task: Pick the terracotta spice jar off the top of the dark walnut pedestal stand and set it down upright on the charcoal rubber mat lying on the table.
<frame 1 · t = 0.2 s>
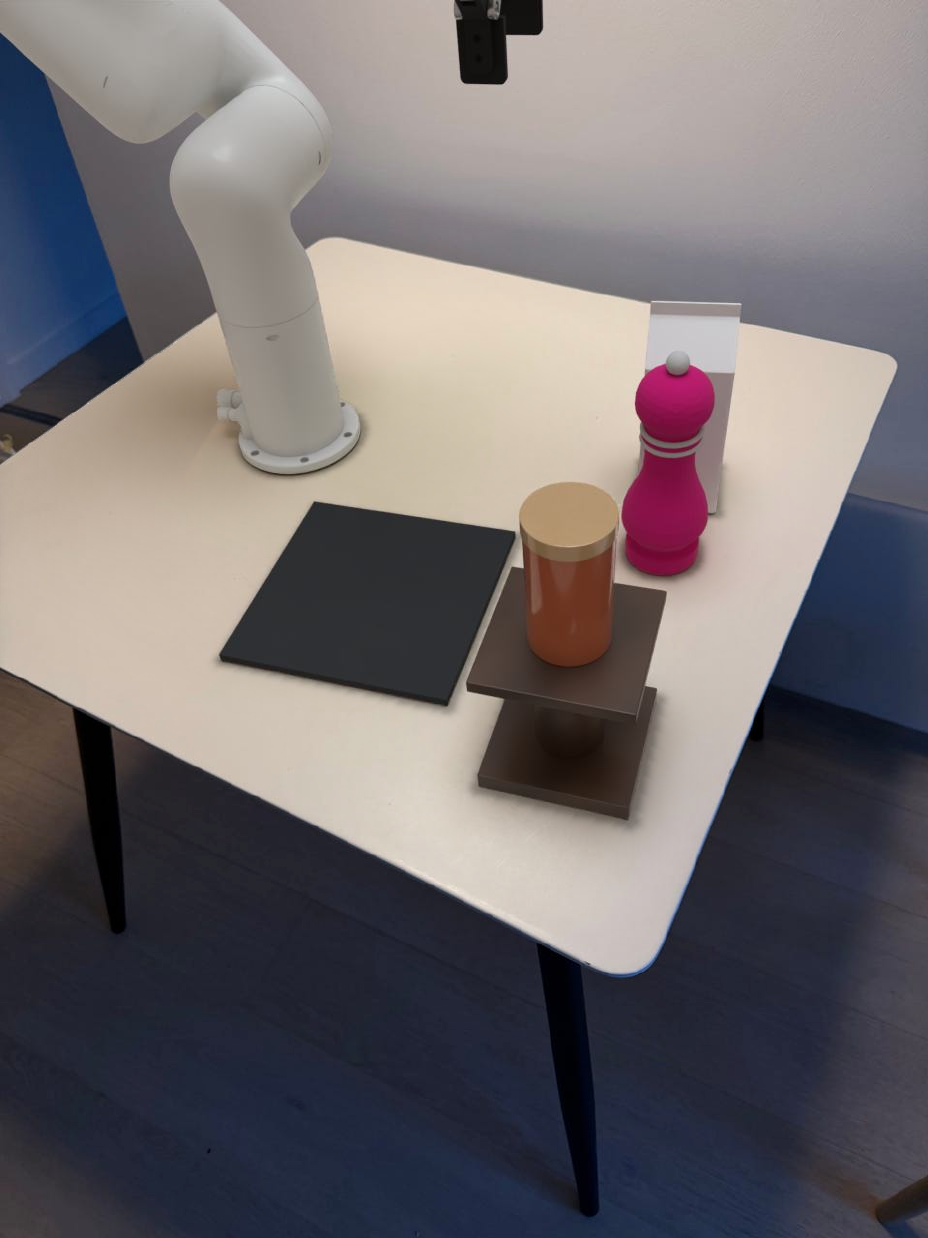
hand: (503, 56, 70), 37 cm above the table, tool pointing down, fingers open, 9 cm apart
pepper mill: (660, 553, 87), on the table
mat: (374, 596, 86), on the table
milk carton: (677, 489, 93), on the table
stand: (569, 742, 74), on the table
spice jar: (569, 634, 65), point 12 cm above the table, touching stand
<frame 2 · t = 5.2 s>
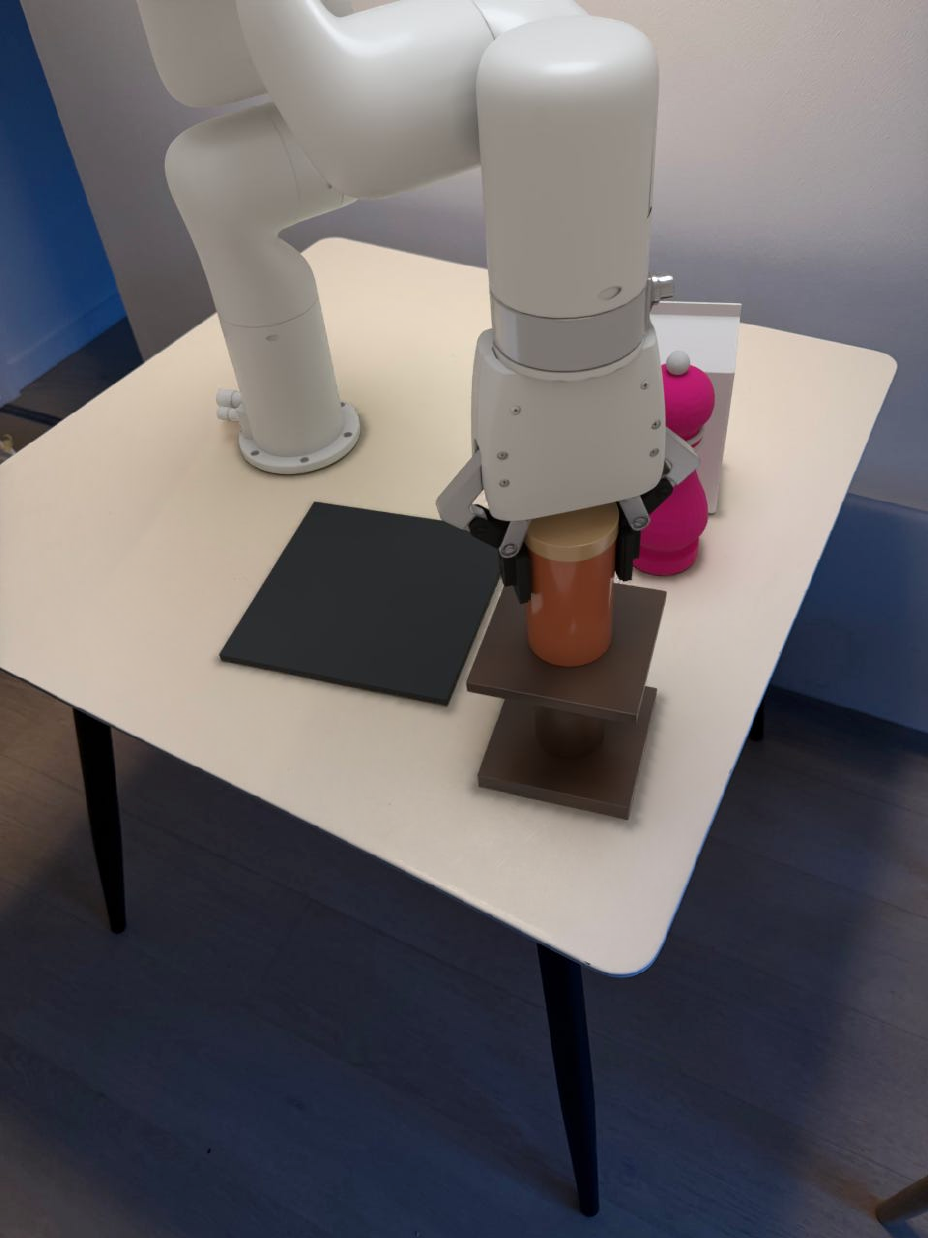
hand: (569, 575, 61), 18 cm above the table, tool pointing down, fingers closed on spice jar, 5 cm apart
spice jar: (569, 634, 65), point 12 cm above the table, touching gripper, stand
everything else where it was.
when the fingers open (6 cm above the table, at t = 15.8 s): spice jar stays where it is, resting on mat.
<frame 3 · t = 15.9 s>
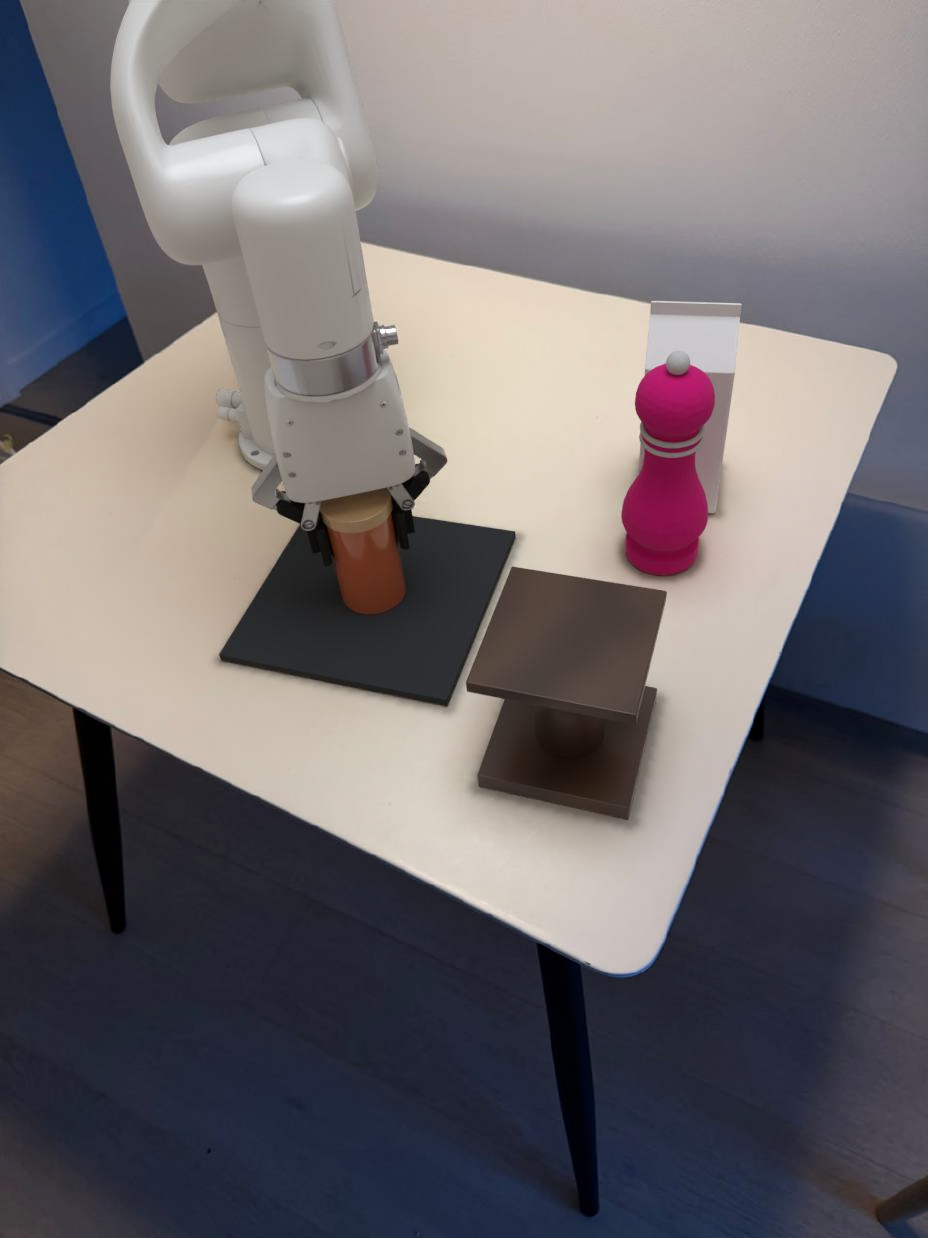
hand: (364, 545, 82), 6 cm above the table, tool pointing down, fingers open, 5 cm apart
spice jar: (374, 591, 86), point 1 cm above the table, touching mat
everything else where it was.
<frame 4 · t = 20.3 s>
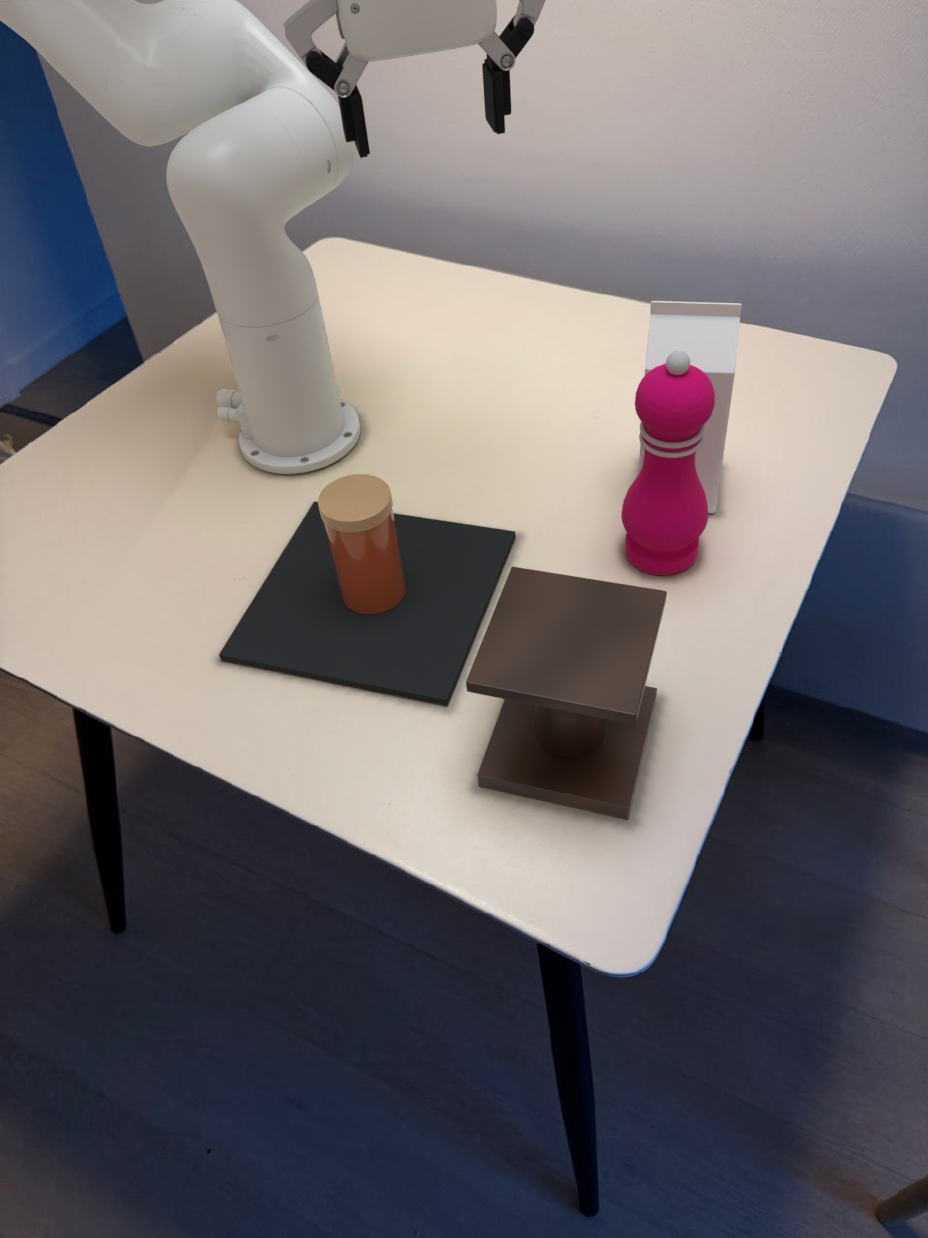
hand: (429, 138, 70), 33 cm above the table, tool pointing down, fingers open, 9 cm apart
nothing on the table moved.
at the end: spice jar inside the target area on the mat (0.1 cm from its centre), point 0.8 cm above the mat's base; spice jar tilted 0°; the gripper is holding nothing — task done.
